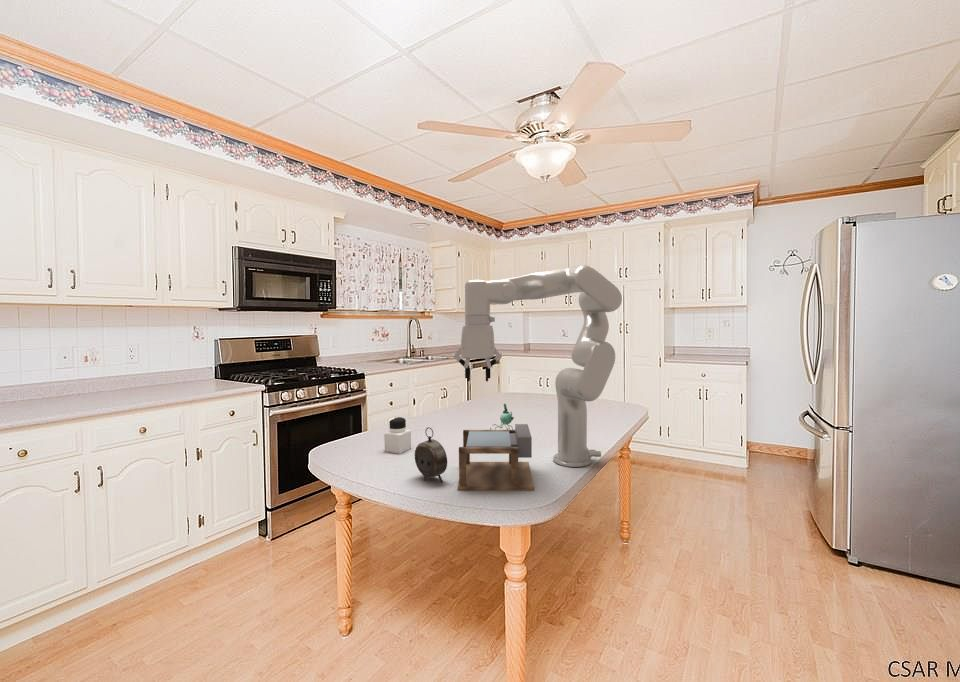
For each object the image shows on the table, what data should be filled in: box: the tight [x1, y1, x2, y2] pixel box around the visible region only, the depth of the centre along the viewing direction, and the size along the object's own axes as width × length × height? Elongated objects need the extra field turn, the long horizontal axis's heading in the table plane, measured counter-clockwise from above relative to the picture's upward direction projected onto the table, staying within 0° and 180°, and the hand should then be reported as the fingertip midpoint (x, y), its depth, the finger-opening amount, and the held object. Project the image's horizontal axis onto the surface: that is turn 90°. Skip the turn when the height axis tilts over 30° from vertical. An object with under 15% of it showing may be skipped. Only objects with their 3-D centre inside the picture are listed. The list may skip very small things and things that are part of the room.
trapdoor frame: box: [456, 429, 535, 491], centre depth 138 cm, size 22×21×12 cm
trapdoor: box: [466, 423, 533, 459], centre depth 137 cm, size 19×16×6 cm
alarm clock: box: [414, 426, 448, 483], centre depth 135 cm, size 11×5×16 cm, turn 47°
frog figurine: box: [489, 403, 515, 430], centre depth 181 cm, size 10×18×15 cm, turn 101°
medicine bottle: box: [383, 416, 412, 455], centre depth 165 cm, size 7×7×12 cm
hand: (477, 380), depth 136 cm, fingers open, 4 cm apart
